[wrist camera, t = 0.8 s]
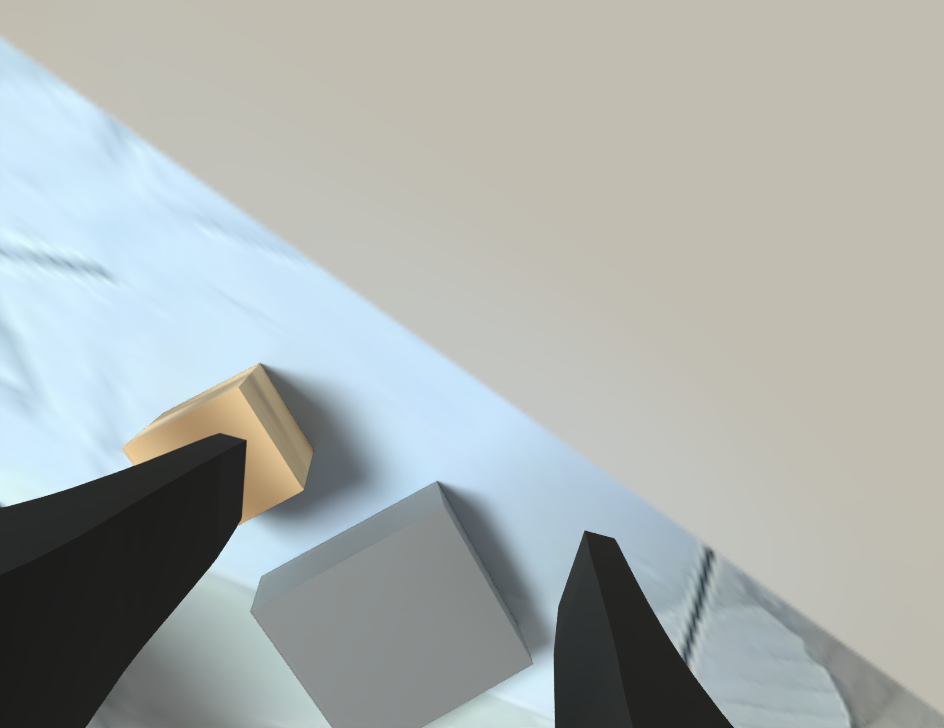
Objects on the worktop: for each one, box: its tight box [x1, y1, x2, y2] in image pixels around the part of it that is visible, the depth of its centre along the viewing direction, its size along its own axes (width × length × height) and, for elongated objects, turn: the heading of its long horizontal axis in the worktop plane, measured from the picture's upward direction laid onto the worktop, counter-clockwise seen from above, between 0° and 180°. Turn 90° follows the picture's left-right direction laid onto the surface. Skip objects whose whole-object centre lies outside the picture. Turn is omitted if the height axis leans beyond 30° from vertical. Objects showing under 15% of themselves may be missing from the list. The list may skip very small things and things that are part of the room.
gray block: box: [250, 481, 533, 728], centre depth 31 cm, size 10×10×3 cm
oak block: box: [122, 363, 314, 525], centre depth 27 cm, size 5×5×5 cm
